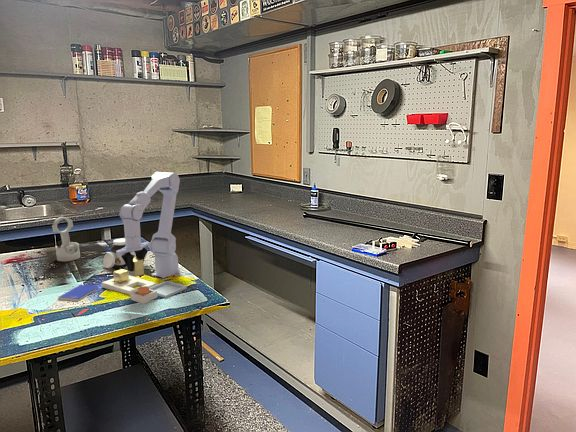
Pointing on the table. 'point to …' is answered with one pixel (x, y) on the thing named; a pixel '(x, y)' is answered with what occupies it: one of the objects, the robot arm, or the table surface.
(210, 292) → the table surface
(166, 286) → the tray
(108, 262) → the spread jar
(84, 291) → the hard drive
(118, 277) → the block
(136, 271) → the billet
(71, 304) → the table surface
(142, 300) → the button housing
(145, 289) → the button
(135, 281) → the frame
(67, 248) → the engine component
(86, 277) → the table surface
